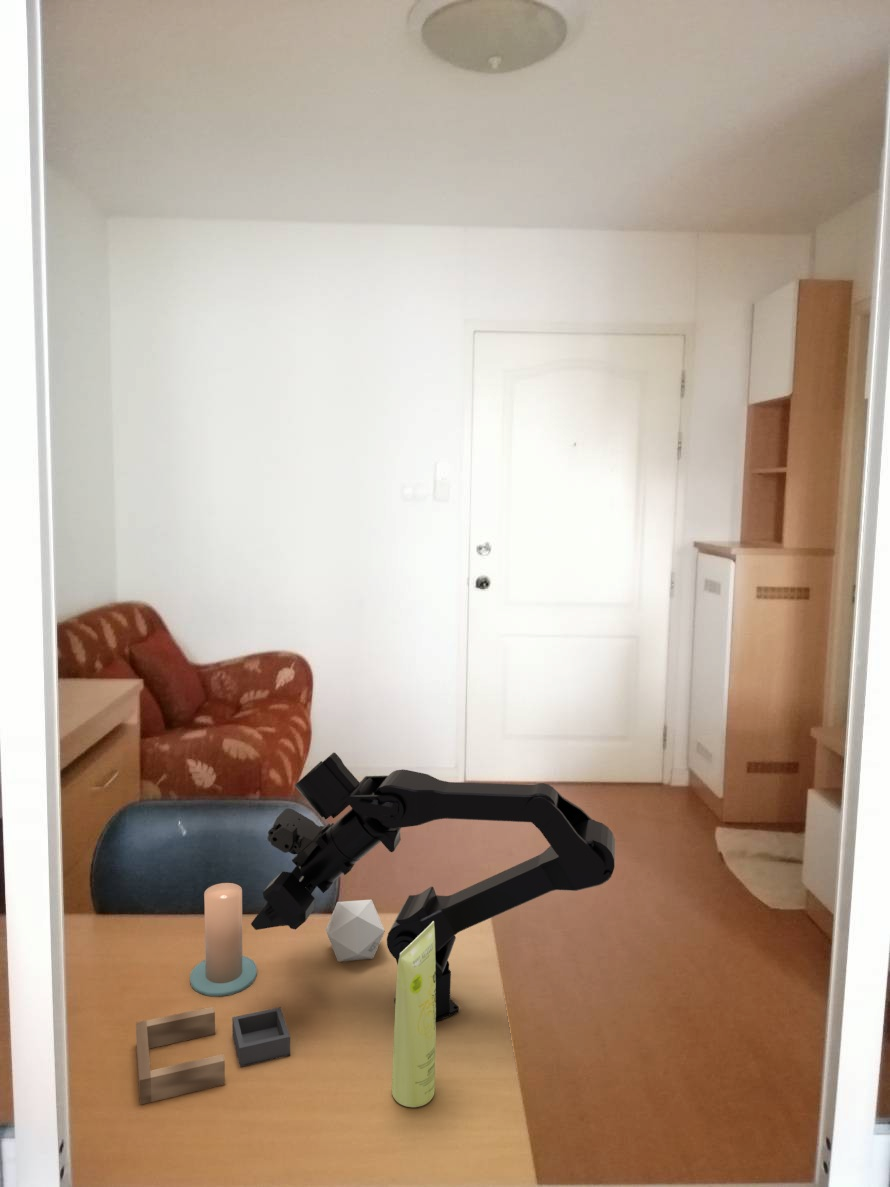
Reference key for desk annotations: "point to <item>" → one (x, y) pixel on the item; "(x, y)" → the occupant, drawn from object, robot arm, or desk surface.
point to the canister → (223, 932)
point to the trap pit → (260, 1036)
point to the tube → (415, 1022)
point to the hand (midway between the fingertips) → (267, 908)
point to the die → (355, 930)
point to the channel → (180, 1075)
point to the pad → (223, 989)
